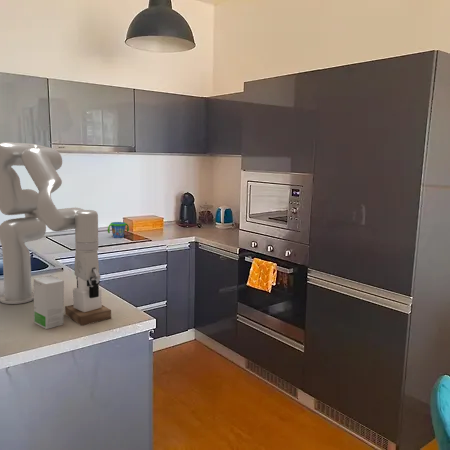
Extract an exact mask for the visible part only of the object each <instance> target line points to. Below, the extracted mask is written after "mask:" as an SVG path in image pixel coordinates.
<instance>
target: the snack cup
mask: <svg viewBox="0 0 450 450" xmlns="http://www.w3.org/2000/svg"><path fill="white" fill-rule="evenodd" d="M129 227H130V226H129V224H128V223H127V222H123V221H114V222H112V221H111V222H110V224H109V225H108V226H107V234H110V233H112V237H113V238H114V239H120V238H124V237H125V231H126V232H130V228H129ZM110 229H111V230H110Z"/></svg>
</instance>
